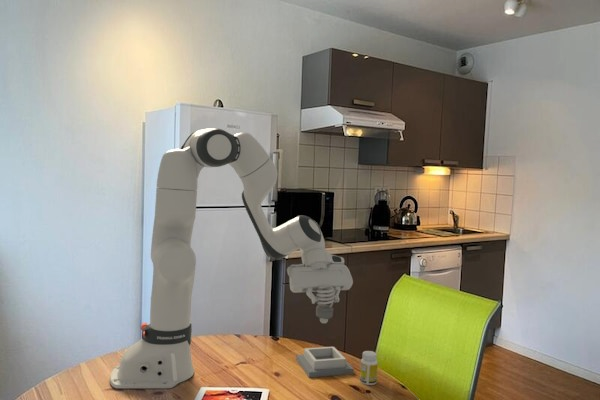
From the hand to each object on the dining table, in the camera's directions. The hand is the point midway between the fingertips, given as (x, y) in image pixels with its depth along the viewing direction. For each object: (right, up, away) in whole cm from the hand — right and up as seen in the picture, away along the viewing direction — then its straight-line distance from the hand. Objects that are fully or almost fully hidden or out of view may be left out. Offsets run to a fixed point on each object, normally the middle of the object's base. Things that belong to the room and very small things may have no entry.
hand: (326, 302), depth 138 cm
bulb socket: (-1, -20, +2) cm, 20 cm away
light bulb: (-1, -7, +1) cm, 7 cm away
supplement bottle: (+12, -21, -8) cm, 26 cm away
